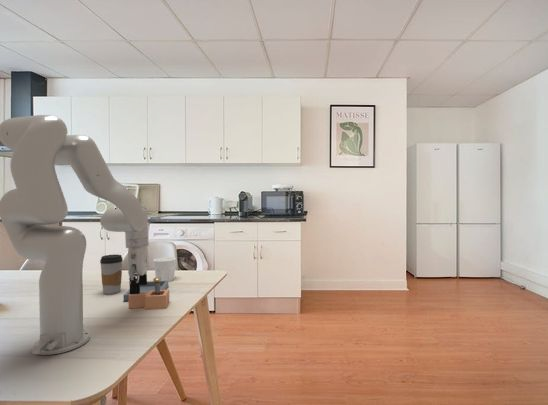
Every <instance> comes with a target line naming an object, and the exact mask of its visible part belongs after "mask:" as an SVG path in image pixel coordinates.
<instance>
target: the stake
mask: <svg viewBox="0 0 548 405" xmlns="http://www.w3.org/2000/svg"><path fill="white" fill-rule="evenodd" d="M153 281H154V282H155V295H160V281H161V278H155V277H154V278H153Z"/></svg>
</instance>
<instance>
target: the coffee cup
mask: <svg viewBox="0 0 548 405" xmlns="http://www.w3.org/2000/svg"><path fill="white" fill-rule="evenodd" d="M100 258H101V259H100V260H99V263H100V272H101V274H100V276H101V285H102V292H103V294H104V295H108V296H109V295H115V294H118V293H120V291H121V288H122V279H123V278H122V275H123V274H122V273H123V271H122V269H123V259H124V257H122V254H108V255H102V256H101V257H100Z"/></svg>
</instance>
